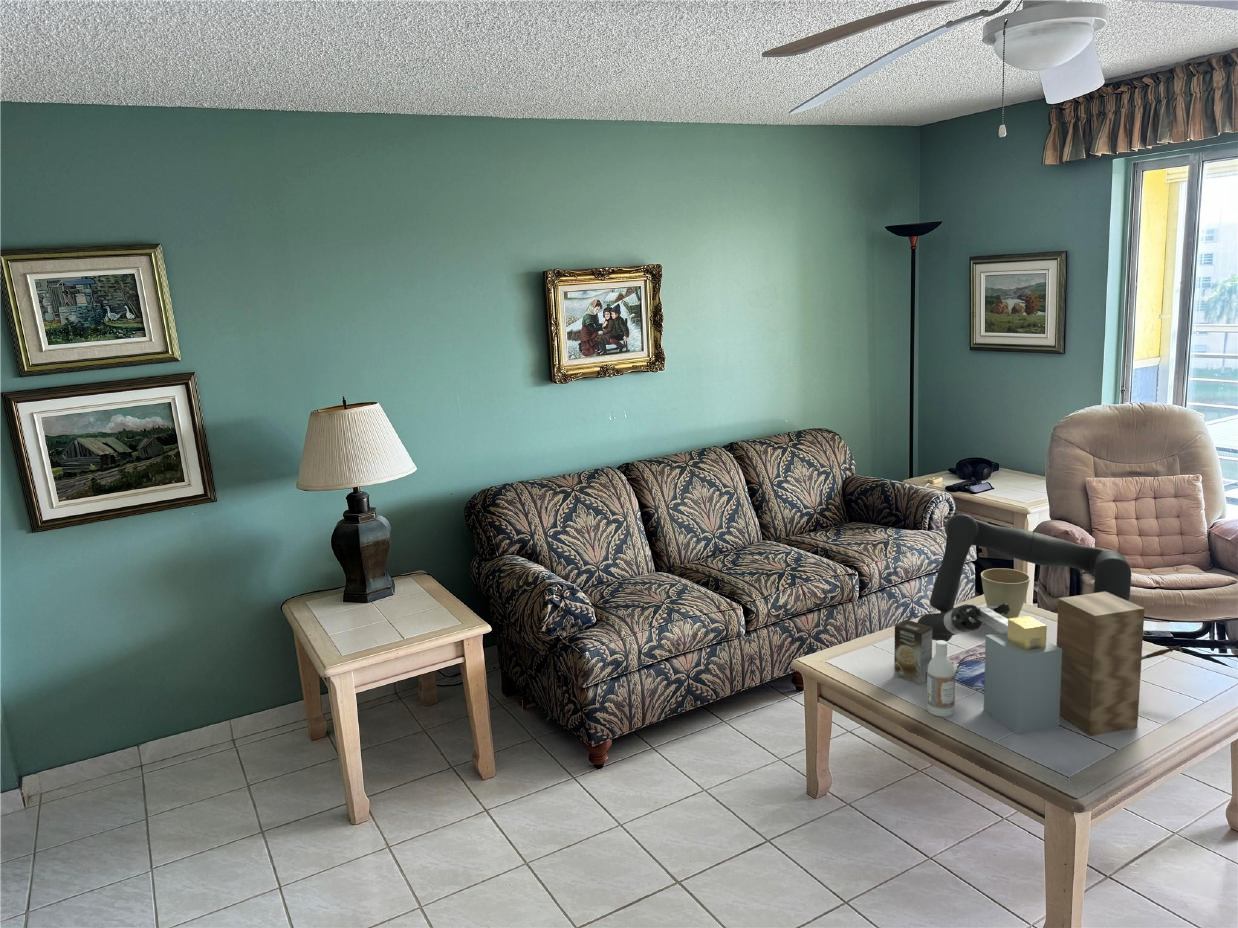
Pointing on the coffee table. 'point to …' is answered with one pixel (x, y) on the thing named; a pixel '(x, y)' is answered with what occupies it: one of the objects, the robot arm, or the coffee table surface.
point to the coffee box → (912, 651)
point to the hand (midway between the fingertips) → (993, 609)
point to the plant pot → (1005, 589)
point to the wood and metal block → (1017, 629)
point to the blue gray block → (1022, 685)
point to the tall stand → (1100, 661)
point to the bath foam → (941, 683)
